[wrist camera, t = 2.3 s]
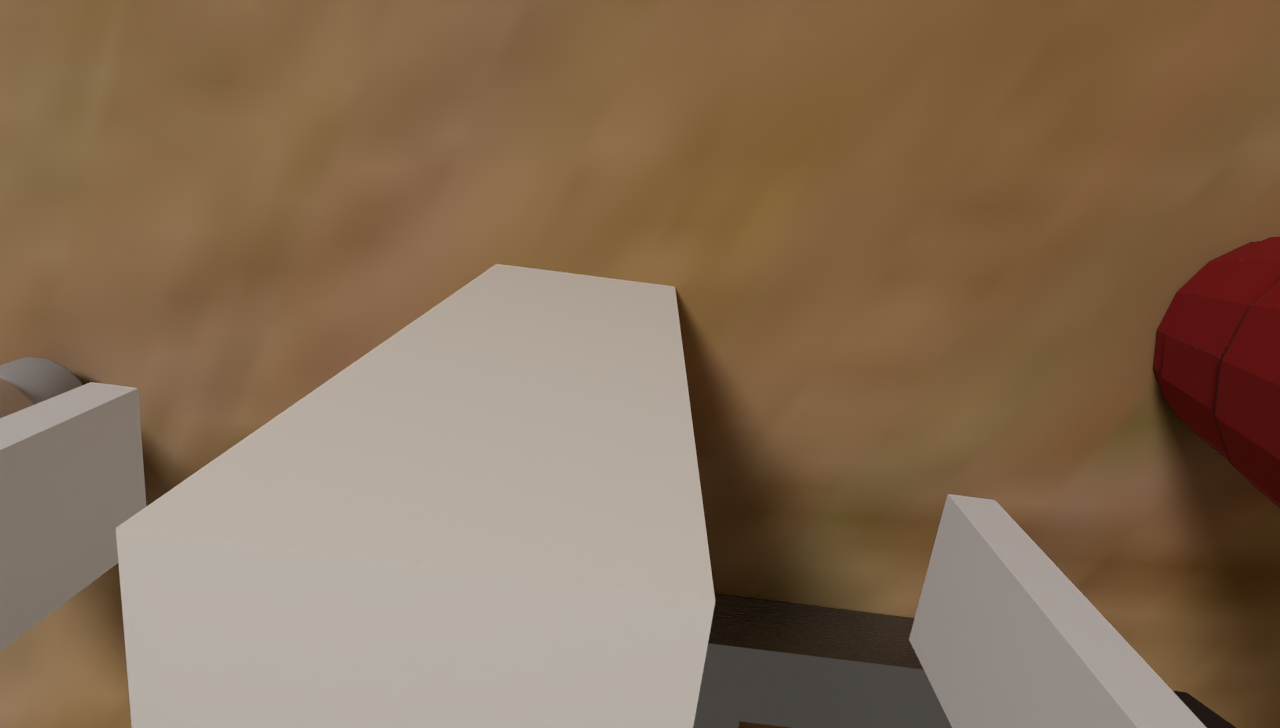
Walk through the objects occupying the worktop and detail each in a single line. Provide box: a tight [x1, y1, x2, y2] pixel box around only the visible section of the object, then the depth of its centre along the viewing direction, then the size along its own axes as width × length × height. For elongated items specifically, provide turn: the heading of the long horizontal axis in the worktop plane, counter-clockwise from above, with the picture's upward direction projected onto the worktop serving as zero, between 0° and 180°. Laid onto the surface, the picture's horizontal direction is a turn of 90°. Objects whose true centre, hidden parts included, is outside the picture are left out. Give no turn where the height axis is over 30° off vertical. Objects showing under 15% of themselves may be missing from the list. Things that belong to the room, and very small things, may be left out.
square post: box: [116, 264, 715, 728], centre depth 14 cm, size 5×5×15 cm
